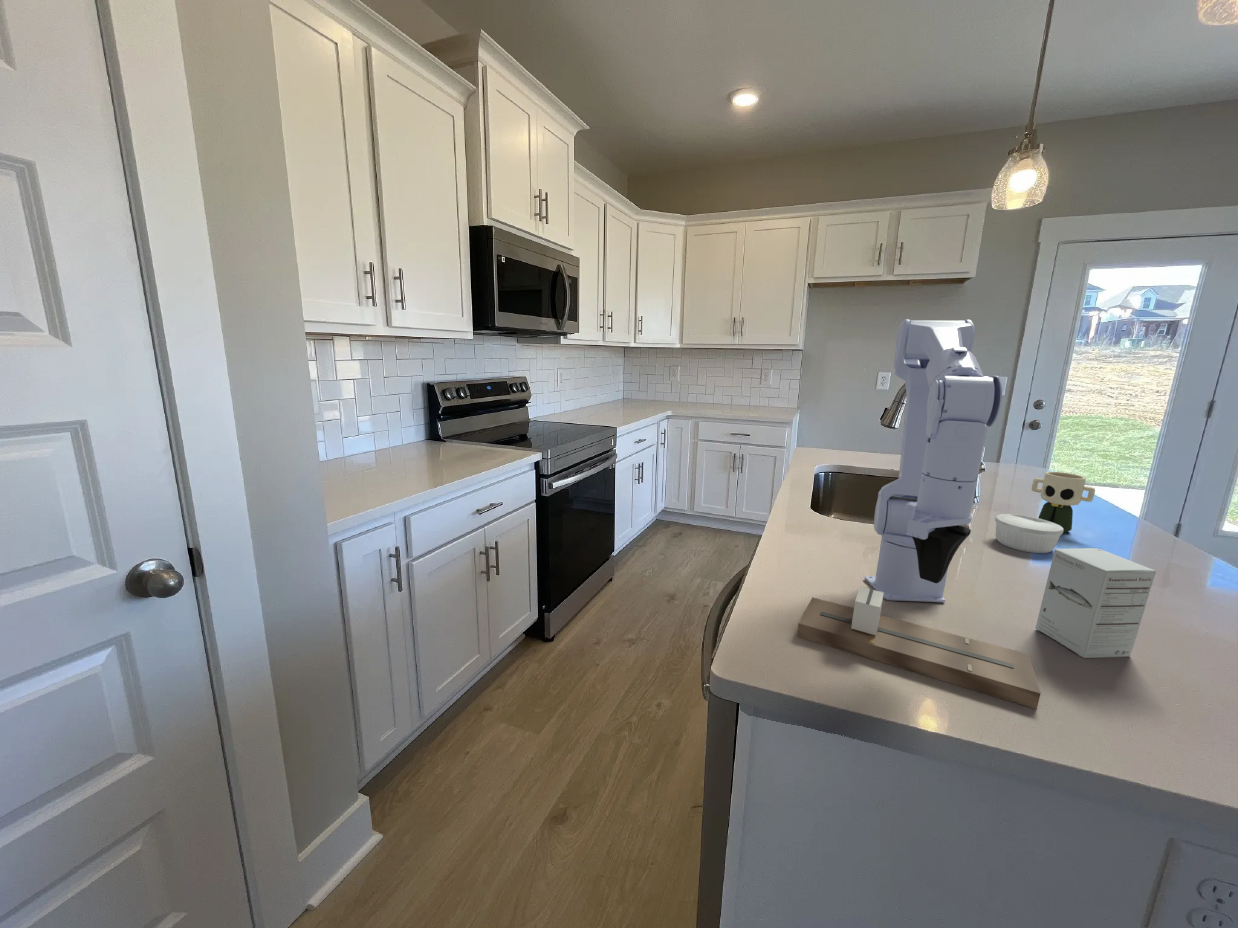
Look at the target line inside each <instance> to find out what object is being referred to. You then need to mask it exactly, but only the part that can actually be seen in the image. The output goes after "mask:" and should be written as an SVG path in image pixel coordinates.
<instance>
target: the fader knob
mask: <svg viewBox="0 0 1238 928" xmlns="http://www.w3.org/2000/svg"><path fill="white" fill-rule="evenodd" d="M883 595H884V592H880V591H876V590H875V589H874V588H866V587H862V586H860V587H859V589H858V591H857V595H856V597H855V600H854V601H855V602H854V607H853V608H854V613H853V619H852V626H851V628H852V629H855V630H859V631H862V632H866V633H869V634H873V635H876V634H877V629H878V625H879V620H880V615H881V613H882V608H883V607H882V606H883V602H884V601H883V600H884V598H883Z"/></svg>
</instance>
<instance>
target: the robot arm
mask: <svg viewBox="0 0 1238 928" xmlns="http://www.w3.org/2000/svg"><path fill="white" fill-rule="evenodd" d="M975 333H976V328H975V324H974V322H973V321H972V320H971V319H964V320H952V319H951V320H947V319H946V320H940V319H939V320H937V319H936V320H933V319H932V320H926V319H925V320H921V319H920V320H917V319H914V320H912V319H909V318H905V319H904V320H903V321H902V322H900V324H899V326H898V330H897V334H896V342H895V351H894V352H895V353H894V363H893V368H894V375H895V376H896V377H898V378H900V379H902V380H903V381H904V384H905V385H904V386H905V392H906V394H905V395H906V398H905V410H904V421H903V430H902V439H901V440H902V441H901V450H900V460H899V461H900V463H899V472H898V473H899V474H898V478H897V479H895V480H894V481H891V482H889V483H887V484H885V485H883V486H882V487H881V489H880V490H879V491H878V494H877V501H876V505H875V508H874V509H875V510H874V516H873V517H874V519H873V529H874V531H875V532H876V534H877V535H881V541H880V546H879V553H878V560H877V566H876V571H875V576H874V575H873V576H872V575H866V576H864V580H865V581H866V582H867V583H868V584H869V585H870V586H871V587H872V589H874V590H876V591H880V592H884V595H883V600H887V601H903V602H904V601H905V602H927V603H930V602H931V603H945V602H946V598H944V593H945V586H946V581H947V574H948V570H949V566H950V564H951V562H952V560H953V558H954V556H955V554H956V552H957V551H958V549H960V546H961V545H962V544H963V543H964V541H966V539H967V538H968V537H969V536H970V535H971V533H972V532H971V531H972V530H971V529H970V528H968V527H967V526H965V525H969V524H971V522H972V520H973V512H972V510H973V504H974V499H975V494H976V489H977V484H978V480H979V479H978V478H979V475H980V469H981V464H982V463H981V462H982V458H983V454H984V453H983V452H984V449H985V441H986V437H987V432H988V427H992V426H993V425H994V424H995V422H996V421H997V419H998V416H999V414H1000V411H1001V404H1002V400H1003V384H1002V382H1001V377H1000V376H999V375H989V376H987V375H984V373H983V371H982V369H981V367H980V364H979V362H978V359H977V358H976V356H975V355H974V354H973V353H972V351H973V346H974V341H975ZM901 498H902V499H901Z"/></svg>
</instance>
